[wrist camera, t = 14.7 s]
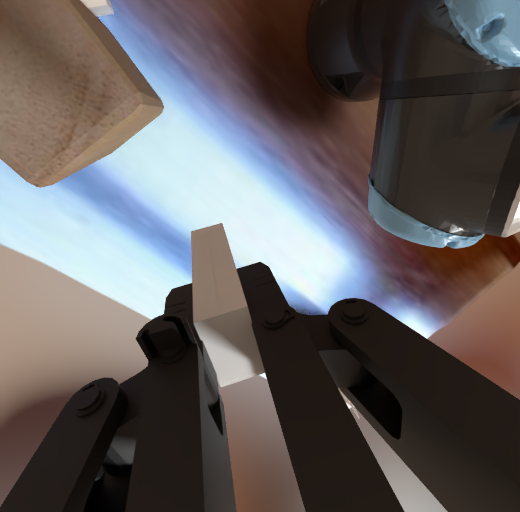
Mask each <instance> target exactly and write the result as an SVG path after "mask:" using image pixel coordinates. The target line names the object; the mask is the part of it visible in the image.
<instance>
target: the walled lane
mask: <svg viewBox="0 0 520 512" xmlns="http://www.w3.org/2000/svg"><path fill="white" fill-rule="evenodd" d="M80 1H81V2H82V3H83V4H84V5H85V6H86V7H87V8H88V9H89V10H90V11H91V12H92V13H93V14H94V15H95V16H96V17H99V16H105V15H110V14H114V11H113V8H112V5H111V3H110V0H80Z"/></svg>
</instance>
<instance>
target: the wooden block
mask: <svg viewBox="0 0 520 512" xmlns="http://www.w3.org/2000/svg"><path fill="white" fill-rule="evenodd" d="M163 109H164V106H163V103H162V101H161V99H160V98H159V97H158V95H157V94H156V92H155V91H154V90H153V88H152V87H151V86H150V84H149V83H148V82H147V80H146V79H145V78H144V76H143V75H142V74H141V72H140V71H139V70H138V68H137V67H136V66H135V64H134V63H133V61H132V60H131V59H130V57H129V56H128V55H127V53H126V52H125V51H124V49H123V48H122V47H121V45H120V44H119V43H118V41H117V40H116V39H115V37H114V36H113V35H112V33H111V32H110V30H109V29H108V28H107V27H106V26H105V25H104V24H103V23H102V22H101V21H100V20H99V19H98V18H97V17H96V16H95V15H94V14H93V13H92V12H91V11H90V10H89V9H88V8H87V7H86V6H85V5H84V4H83V3H82V2H81V1H80V0H0V159H1V160H2V161H4V162H5V163H6V164H7V165H8V166H9V167H11V168H12V169H13V170H14V171H15V172H16V173H18V174H19V175H20V176H21V177H22V178H23V179H24V180H26V181H27V182H29V183H31V184H33V185H35V186H36V187H45V186H49V185H53V184H55V183H56V182H58V181H60V180H62V179H64V178H66V177H68V176H70V175H71V174H73V173H75V172H77V171H79V170H81V169H83V168H84V167H86V166H88V165H90V164H92V163H94V162H96V161H97V160H99V159H101V158H103V157H105V156H107V155H109V154H110V153H112V152H113V151H115V150H116V149H117V148H118V147H120V146H121V145H122V144H124V143H125V142H126V141H127V140H129V139H130V138H131V137H132V136H134V135H135V134H136V133H137V132H139V131H140V130H141V129H142V128H144V127H145V126H146V125H147V124H149V123H150V122H151V121H153V120H154V119H155V118H156V117H158V116H159V115H160V114H161V113H162V111H163Z"/></svg>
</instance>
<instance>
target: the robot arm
mask: <svg viewBox="0 0 520 512" xmlns="http://www.w3.org/2000/svg"><path fill="white" fill-rule="evenodd" d="M307 51H308V57H309V61H310V65H311V68H312V70H313V73H314V75H315V77H316V79H317V80H318V82H319V83H320V85H321V86H322V87H323V88H324V89H325V90H326V91H327V92H328V93H329V94H331V95H332V96H334V97H335V98H337V99H340V100H343V101H348V102H360V101H368V100H372V99H375V98H378V97H380V98H379V99H380V100H379V104H378V113H377V122H376V130H375V139H374V146H373V154H372V162H371V170H370V174H369V176H368V184H369V199H368V208H369V212H370V214H371V216H372V217H373V218H374V219H375V221H376V222H377V223H378V224H379V225H380V226H381V227H382V228H384V229H385V230H387V231H389V232H390V233H392V234H394V235H396V236H398V237H401V238H403V239H406V240H409V241H411V242H415V243H418V244H422V245H427V246H432V247H440V248H443V247H445V246H449V247H451V248H463V247H468V246H471V245H473V244H475V243H476V242H478V240H479V239H481V238H482V237H483V236H484V234H490V235H495V236H501V237H508V236H510V235H512V234H515V233H517V232H519V231H520V0H314V2H313V5H312V8H311V11H310V15H309V20H308V26H307ZM394 98H395V99H394ZM191 245H192V283H191V284H187V285H184V286H180V287H177V288H174V289H172V290H171V292H170V293H169V295H168V296H167V298H166V302H165V310H164V314H163V315H161V316H158V317H156V318H154V319H153V320H151V321H150V322H148V323H147V324H146V325H145V326H144V327H143V328H142V329H141V330H140V331H139V333H138V335H137V337H136V340H137V342H138V344H139V345H140V347H141V349H142V350H143V352H144V354H145V355H146V357H147V359H148V361H149V362H148V366H147V367H146V368H145V369H144V370H142V371H141V372H139V373H138V374H136V375H135V376H133V377H131V378H129V379H128V380H126V381H124V382H123V383H121V384H118V382H117V381H115V380H114V379H113V378H101V379H98V380H95V381H92V382H91V383H89V384H87V385H85V386H84V387H82V388H81V389H80V390H79V391H78V392H76V393H75V394H74V395H73V396H72V397H71V399H70V400H69V401H68V402H67V404H66V405H65V407H64V408H63V409H62V411H61V413H60V414H59V416H58V417H57V419H56V421H55V422H54V424H53V425H52V427H51V428H50V430H49V432H48V433H47V435H46V436H45V438H44V439H43V441H42V442H41V444H40V446H39V447H38V449H37V451H36V452H35V453H34V455H33V457H32V458H31V460H30V462H29V463H28V465H27V466H26V468H25V469H24V471H23V472H22V474H21V475H20V477H19V479H18V480H17V482H16V483H15V485H14V486H13V488H12V490H11V491H10V493H9V494H8V496H7V497H6V499H5V501H4V502H3V504H2V505H1V507H0V512H237V511H236V503H235V495H234V487H233V479H232V470H231V462H230V454H229V447H228V438H227V430H226V421H225V413H224V405H223V402H222V399H221V396H220V394H219V391H218V382H219V384H220V386H221V387H223V386H226V385H229V384H232V383H235V382H238V381H241V380H244V379H247V378H250V377H253V376H256V375H259V374H262V373H266V377H267V380H268V384H269V387H270V390H271V394H272V397H273V401H274V404H275V407H276V411H277V415H278V418H279V421H280V425H281V428H282V432H283V435H284V439H285V442H286V445H287V449H288V452H289V455H290V459H291V463H292V466H293V469H294V473H295V476H296V479H297V483H298V487H299V490H300V494H301V497H302V500H303V504H304V507H305V511H306V512H404V510H403V508H402V506H401V505H400V503H399V501H398V499H397V497H396V495H395V493H394V492H393V490H392V488H391V486H390V484H389V482H388V480H387V479H386V477H385V475H384V473H383V471H382V469H381V467H380V466H379V464H378V462H377V460H376V458H375V456H374V454H373V452H372V451H371V449H370V447H369V445H368V443H367V441H366V439H365V438H364V436H363V434H362V432H361V430H360V428H359V426H358V425H357V423H356V421H355V419H354V417H353V415H352V413H351V412H350V410H349V408H348V406H347V404H346V402H345V400H344V399H343V397H342V395H341V393H340V391H341V392H342V393H343V394H344V395H345V396H346V397H347V399H348V400H349V401H350V402H351V403H352V404H353V405H354V406H355V408H356V409H357V410H358V411H359V412H360V413H361V414H362V415H363V417H364V418H365V419H366V420H367V421H368V422H369V423H370V424H371V426H372V427H373V428H374V429H375V430H376V431H377V432H378V433H379V435H381V437H382V438H383V439H384V440H385V441H386V442H387V444H389V446H390V447H391V448H392V449H393V450H394V451H395V452H396V454H397V455H398V456H399V457H400V458H401V459H402V460H403V462H404V463H405V464H406V465H407V466H408V467H409V468H410V469H411V471H413V473H414V474H415V475H416V476H417V477H418V478H419V480H420V481H421V482H422V483H423V484H424V485H425V486H426V487H427V489H428V490H429V491H430V492H431V493H432V494H433V495H434V496H435V498H436V499H437V500H438V501H439V502H440V503H441V504H442V505H443V507H444V508H445V509H446V510H447V511H448V512H520V400H519V399H518V398H516V397H514V396H513V395H511V394H510V393H508V392H507V391H505V390H504V389H502V388H501V387H499V386H498V385H496V384H495V383H493V382H492V381H490V380H489V379H487V378H486V377H484V376H482V375H481V374H479V373H478V372H476V371H475V370H473V369H472V368H470V367H469V366H467V365H466V364H464V363H463V362H461V361H460V360H458V359H456V358H455V357H454V356H452V355H451V354H449V353H447V352H446V351H444V350H443V349H441V348H440V347H438V346H437V345H435V344H434V343H432V342H431V341H429V340H428V339H426V338H425V337H423V336H422V335H420V334H419V333H417V332H416V331H414V330H413V329H411V328H409V327H408V326H406V325H405V324H403V323H402V322H400V321H399V320H397V319H396V318H394V317H393V316H391V315H390V314H388V313H387V312H385V311H384V310H382V309H381V308H379V307H378V306H376V305H374V304H373V303H371V302H369V301H366V300H363V299H357V298H350V299H344V300H341V301H338V302H336V303H335V304H334V305H332V306H331V308H330V310H329V312H328V315H304V314H300V313H298V312H296V311H295V310H294V309H293V308H292V307H290V306H289V305H288V303H287V301H286V299H285V297H284V295H283V293H282V291H281V289H280V287H279V285H278V284H277V282H276V280H275V278H274V276H273V274H272V272H271V270H270V268H269V267H268V266H267V265H265V264H263V263H262V262H258V263H255V264H251V265H248V266H245V267H241V268H238V269H236V267H235V263H234V260H233V257H232V253H231V250H230V247H229V244H228V240H227V237H226V234H225V230H224V227H223V224H222V223H220V224H217V225H213V226H209V227H206V228H202V229H199V230H195V231H191ZM217 380H218V382H217ZM338 388H339V389H340V391H339V389H338Z"/></svg>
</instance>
